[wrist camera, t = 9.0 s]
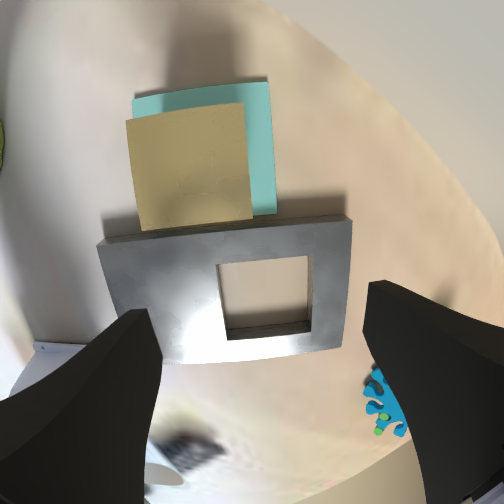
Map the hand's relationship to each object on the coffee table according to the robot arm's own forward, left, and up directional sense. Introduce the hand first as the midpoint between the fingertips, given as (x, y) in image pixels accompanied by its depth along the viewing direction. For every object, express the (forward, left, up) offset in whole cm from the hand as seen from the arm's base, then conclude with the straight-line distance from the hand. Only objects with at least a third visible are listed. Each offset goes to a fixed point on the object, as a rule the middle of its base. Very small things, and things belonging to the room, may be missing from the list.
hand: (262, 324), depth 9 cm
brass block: (-2, +5, -10) cm, 11 cm away
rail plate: (-2, -5, -10) cm, 11 cm away
